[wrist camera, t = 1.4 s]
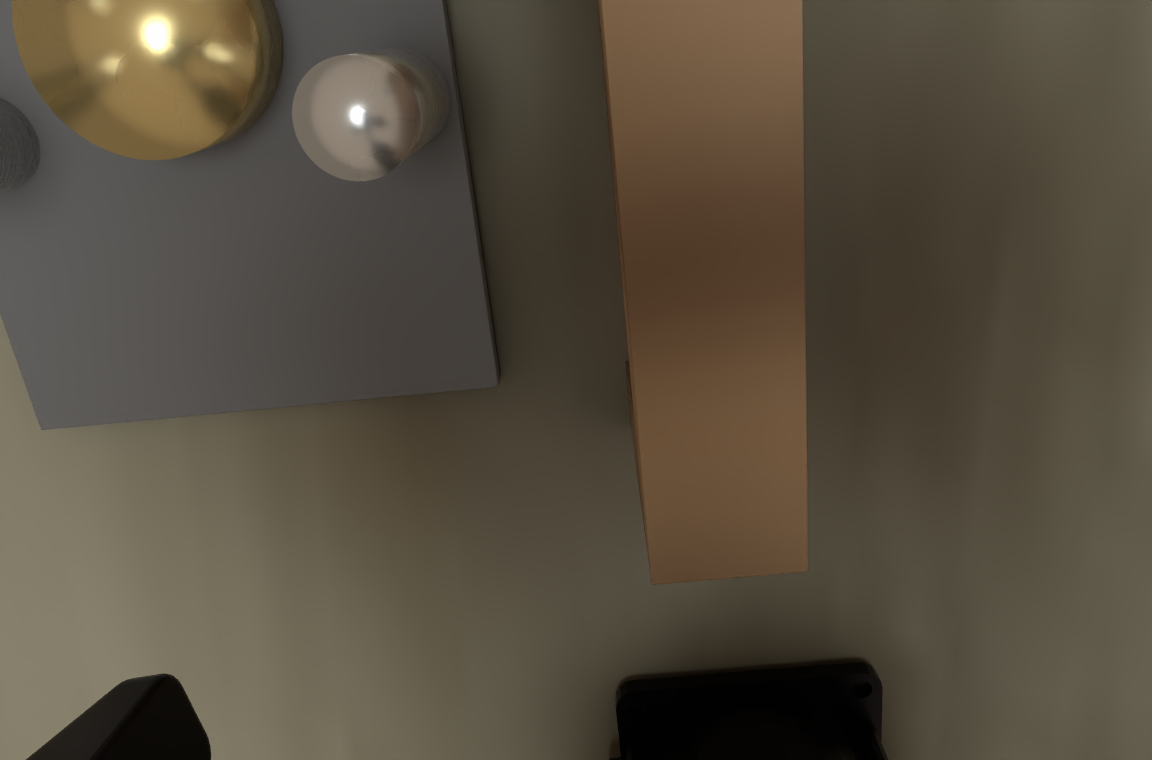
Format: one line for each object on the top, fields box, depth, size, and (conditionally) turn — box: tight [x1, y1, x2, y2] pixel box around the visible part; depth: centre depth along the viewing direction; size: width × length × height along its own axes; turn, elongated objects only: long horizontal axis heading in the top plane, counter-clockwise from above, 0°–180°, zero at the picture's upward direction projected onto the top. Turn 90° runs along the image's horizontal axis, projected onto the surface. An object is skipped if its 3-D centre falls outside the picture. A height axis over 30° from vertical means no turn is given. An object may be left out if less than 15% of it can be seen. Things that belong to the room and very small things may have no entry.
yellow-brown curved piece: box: [12, 0, 283, 160], centre depth 16 cm, size 4×4×2 cm
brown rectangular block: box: [598, 0, 808, 585], centre depth 15 cm, size 12×4×6 cm, turn 6°
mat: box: [0, 0, 500, 430], centre depth 17 cm, size 10×12×1 cm
